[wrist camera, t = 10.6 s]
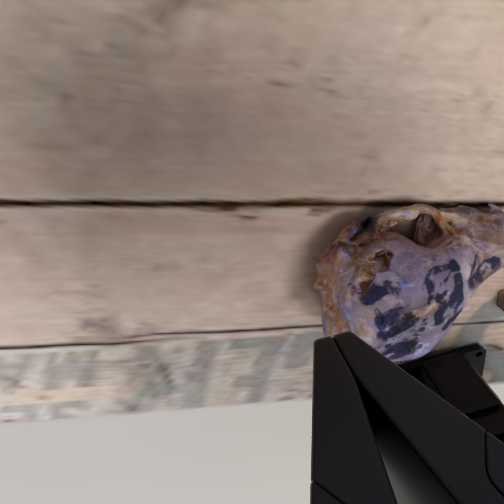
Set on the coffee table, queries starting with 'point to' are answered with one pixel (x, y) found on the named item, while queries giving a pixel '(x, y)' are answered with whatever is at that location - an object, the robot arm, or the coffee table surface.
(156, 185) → the coffee table surface
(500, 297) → the rail notch
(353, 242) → the skull
